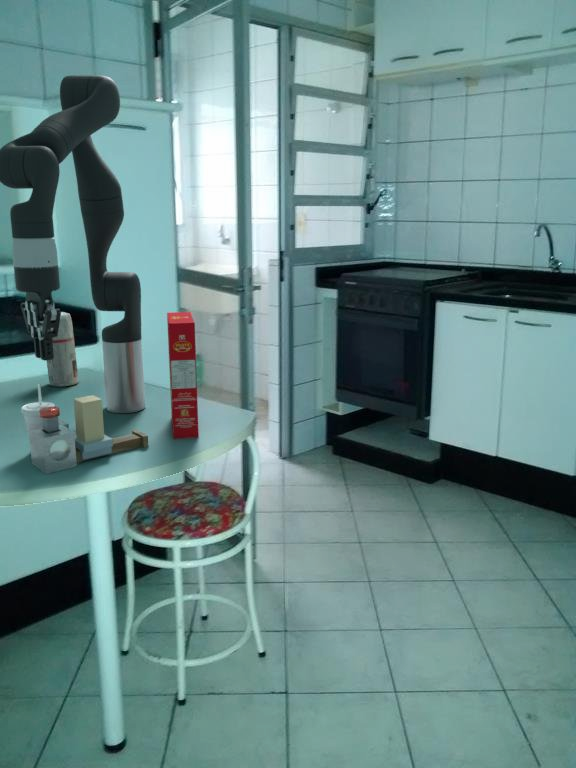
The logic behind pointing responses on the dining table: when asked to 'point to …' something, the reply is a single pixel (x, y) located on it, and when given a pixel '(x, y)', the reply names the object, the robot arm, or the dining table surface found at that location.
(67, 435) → the gauge cabinet
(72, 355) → the spray can
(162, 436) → the dining table surface
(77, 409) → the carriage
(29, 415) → the smoothie
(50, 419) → the gauge button
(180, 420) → the food packaging
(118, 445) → the rail
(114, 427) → the dining table surface
